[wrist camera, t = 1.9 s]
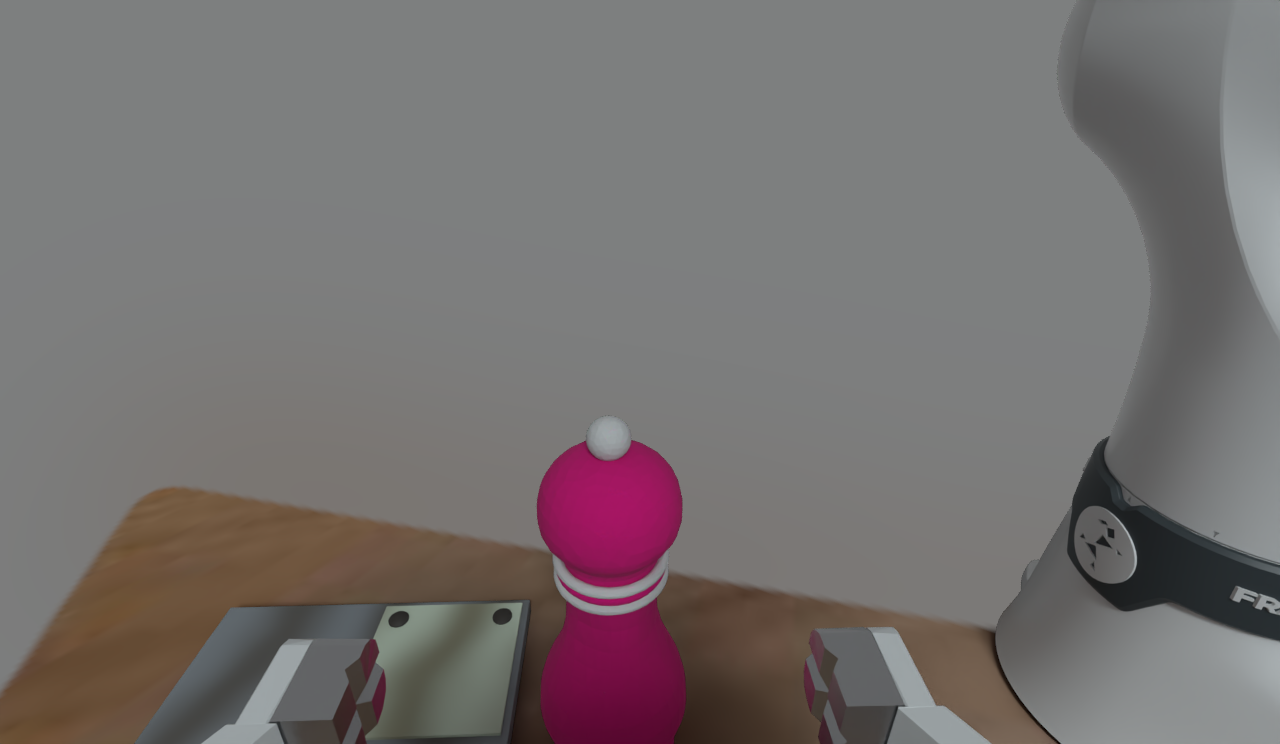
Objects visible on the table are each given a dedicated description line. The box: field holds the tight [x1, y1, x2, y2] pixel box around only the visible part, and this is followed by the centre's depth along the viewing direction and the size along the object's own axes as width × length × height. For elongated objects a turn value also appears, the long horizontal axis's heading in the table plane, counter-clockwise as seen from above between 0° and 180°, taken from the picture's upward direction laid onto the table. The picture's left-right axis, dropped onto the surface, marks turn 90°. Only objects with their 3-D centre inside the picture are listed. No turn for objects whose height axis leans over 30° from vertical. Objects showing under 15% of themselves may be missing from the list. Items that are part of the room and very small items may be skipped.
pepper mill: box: [537, 416, 686, 744], centre depth 28 cm, size 7×7×20 cm
